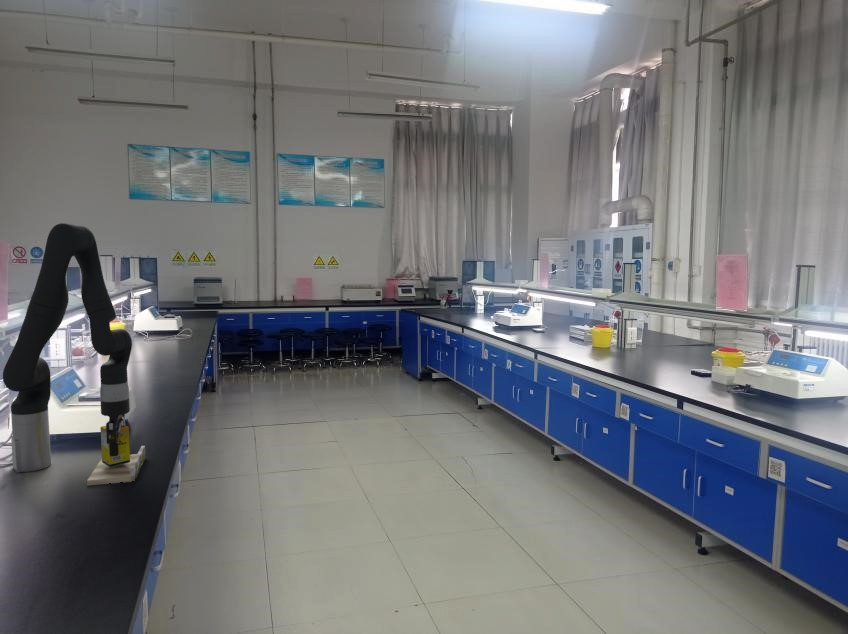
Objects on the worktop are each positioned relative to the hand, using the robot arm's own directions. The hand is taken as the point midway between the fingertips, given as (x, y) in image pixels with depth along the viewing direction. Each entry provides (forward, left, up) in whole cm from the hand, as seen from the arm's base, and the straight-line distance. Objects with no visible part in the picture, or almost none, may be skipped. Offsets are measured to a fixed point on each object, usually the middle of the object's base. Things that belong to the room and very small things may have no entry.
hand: (117, 451), depth 176 cm
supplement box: (0, 0, -4) cm, 4 cm away
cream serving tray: (0, 0, -6) cm, 6 cm away
